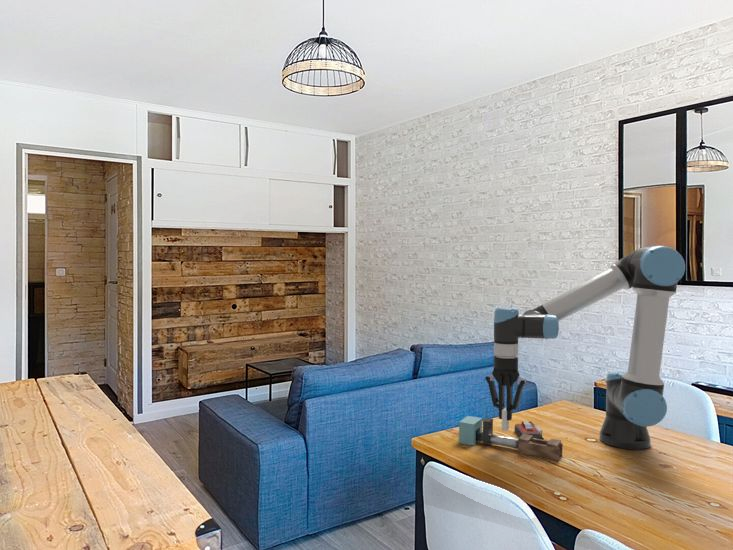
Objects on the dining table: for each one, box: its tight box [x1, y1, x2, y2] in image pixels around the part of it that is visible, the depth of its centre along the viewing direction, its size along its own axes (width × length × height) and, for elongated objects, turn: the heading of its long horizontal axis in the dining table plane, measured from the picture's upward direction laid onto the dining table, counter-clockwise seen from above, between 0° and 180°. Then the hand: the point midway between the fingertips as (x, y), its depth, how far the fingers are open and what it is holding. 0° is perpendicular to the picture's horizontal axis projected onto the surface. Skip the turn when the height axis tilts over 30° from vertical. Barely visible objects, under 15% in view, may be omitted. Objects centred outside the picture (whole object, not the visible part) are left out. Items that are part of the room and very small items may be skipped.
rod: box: [476, 417, 532, 450], centre depth 170 cm, size 20×4×8 cm, turn 59°
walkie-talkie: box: [514, 420, 545, 440], centre depth 184 cm, size 9×4×20 cm
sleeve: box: [517, 434, 564, 462], centre depth 164 cm, size 12×6×5 cm, turn 59°
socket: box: [458, 415, 483, 446], centre depth 175 cm, size 5×8×7 cm, turn 149°
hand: (505, 429), depth 169 cm, fingers closed
